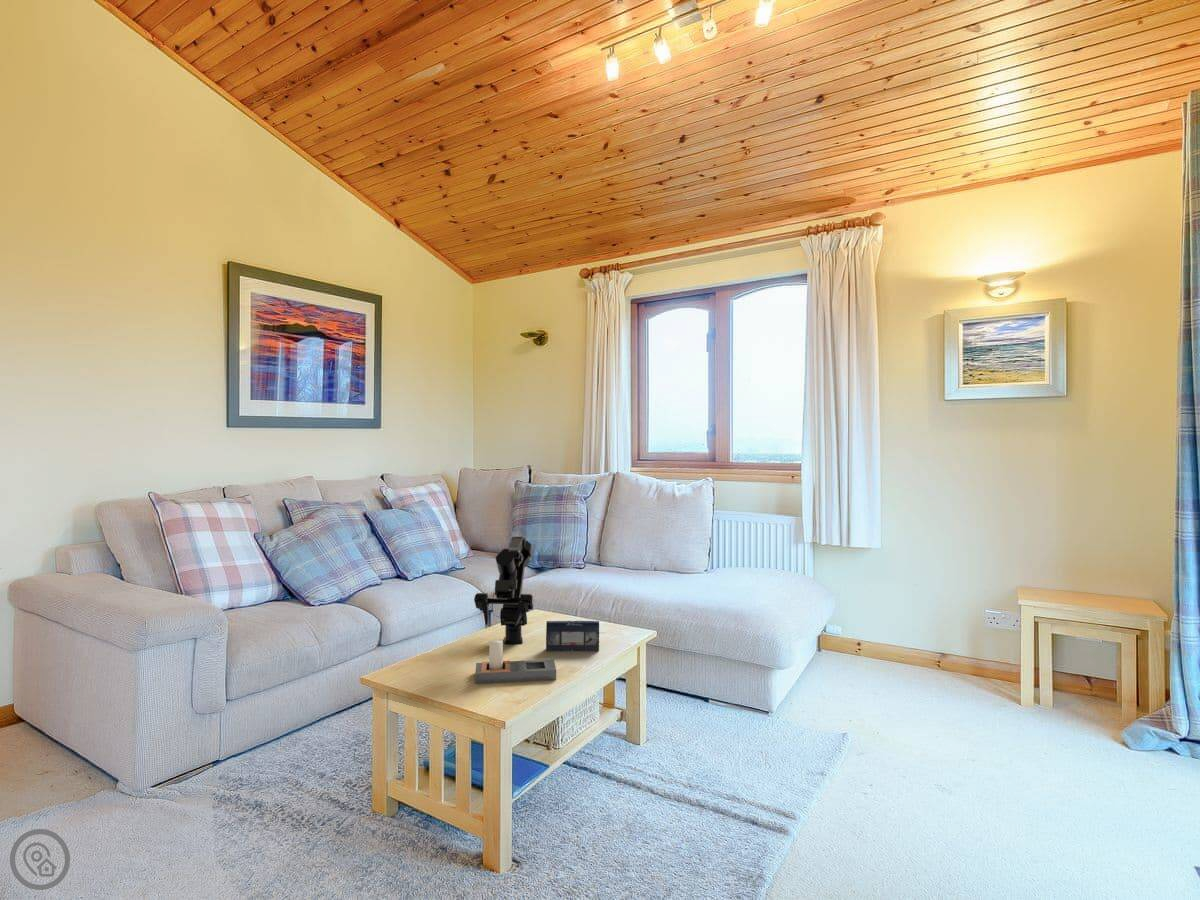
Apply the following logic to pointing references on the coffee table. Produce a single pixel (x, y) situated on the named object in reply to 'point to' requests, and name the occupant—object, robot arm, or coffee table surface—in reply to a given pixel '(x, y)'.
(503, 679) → the rail
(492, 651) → the peg
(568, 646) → the vhs cassette tape
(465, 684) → the coffee table surface
